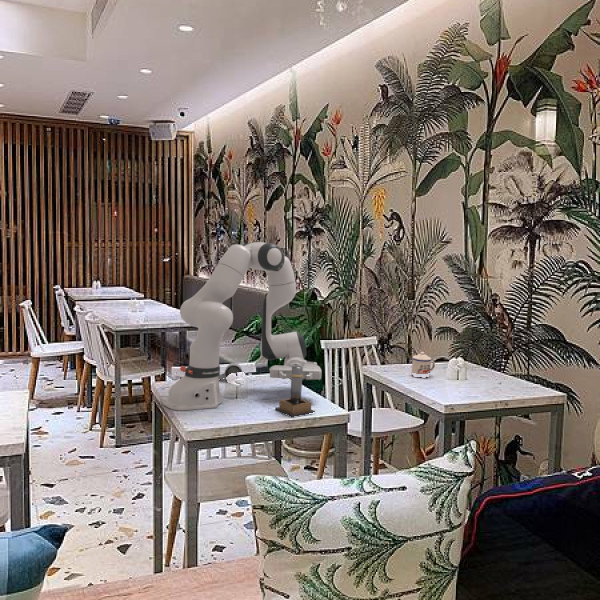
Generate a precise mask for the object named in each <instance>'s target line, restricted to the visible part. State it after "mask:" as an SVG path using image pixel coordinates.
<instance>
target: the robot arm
mask: <svg viewBox="0 0 600 600" xmlns="http://www.w3.org/2000/svg"><path fill="white" fill-rule="evenodd" d="M248 270H256V271H264V272H265V273H266V277H267V284H268V285H267V286H268V291H267V294H266V296H265V297H264V298H263V300H262V309H261V311H262V312H261V339H260V345H259V346H260V347H259V349H260V353H261V357H262V358H264V359H266V360H267V361H274V360H277V359H283V358H285V359H284V363H283V365H276V364H275V365H272V366H271V367H269V369H268V370H269V377H270V378H272V379H282V380H286V379H289V380H290V381H291V373H292V366H302V367H303V372H302V374H303V377H302V380H306V381H311V380H319V381H320V380H322V368H321V367H320V366H319V365H318V363H317V362H315V361H310V360H306V359H305V358H306V356H307V345H306V341H305V338H304V335H302V334H301V333H300V332H299V331H291V332H286V333H280V334H272V317H273V314H274V313H275V312H276V311H277V310H279V309H281V308H282V307H285V306H286V305H287V304H289V303H290V302H291V301H292V300H293V299H294V298H295V297H296V294H297V284H296V277H295V272H294V269H293V266H292V263H291V261H290V258H289V257H287V256H285V254H284V252H283V250H282V248H281V247H280V246H279V245H278V244H276V243H273V242H263V241H255V242H254V241H253V242H248V243H245V244H244V245H242V244H239V243H238V244H236V243H235V244H232V245H230V246H229V248H228V249H227V250H226V251H225V252H224V254H222V257H220V260H219V261H218V263H217V265H216V266H215V267H214V270H213V271H212V273H211V275H210V276H209V278H208V280H207V281H206V283H205V284H203V286H202V287H201V288H200V289H199V290H198V291H197V292H196V293H195V294H194V295H193V296H192V297H190V298H188V299H186V300H184V301H183V303H182V304H181V305H180V308H179V315H180V318H181V319H182V320H183V321H184V323H186V324H187V325H188V326H191V327H193V328H194V327H195V328H197V329H198V331H197V334H196V337H195V340H193V341H192V342H191V344H190V346H189V364H188V365H187V366H184V365H181V366H180V367H179V370H180V372H183V373H184V375H183V376H182V377H181V378H180V379H178V380H177V381H176V382H175V383H174V384H172V385H171V386H170V388H169V390H168V397H167V398H163V399H162V400H161V404H162V405H163V406H164V407H166V408H168V409H171V410H174V411H191V410H192V411H193V410H201V409H203V410H204V409H215V408H218V406H219V405H220V404H222V403H223V401H222V397H221V396H222V395H221V392H220V380H219V377H220V375H221V366H220V353H221V352H220V351H221V343H222V340H223V337H224V335H225V334H226V333H225V332H226V331H228V330H229V329H230V328H231V327H232V324H233V321H234V314H233V312H232V310H231V308H229V307H227V306H226V305H225V304H223V303H224V302H225V301H227V300H228V299H230V298H232V297H233V296H234V295H235V294H236V291H237V290H238V288H239V287H240V284H241V282H242V281H243V279H244V278H245V275H246V274H247V272H248Z"/></svg>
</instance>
